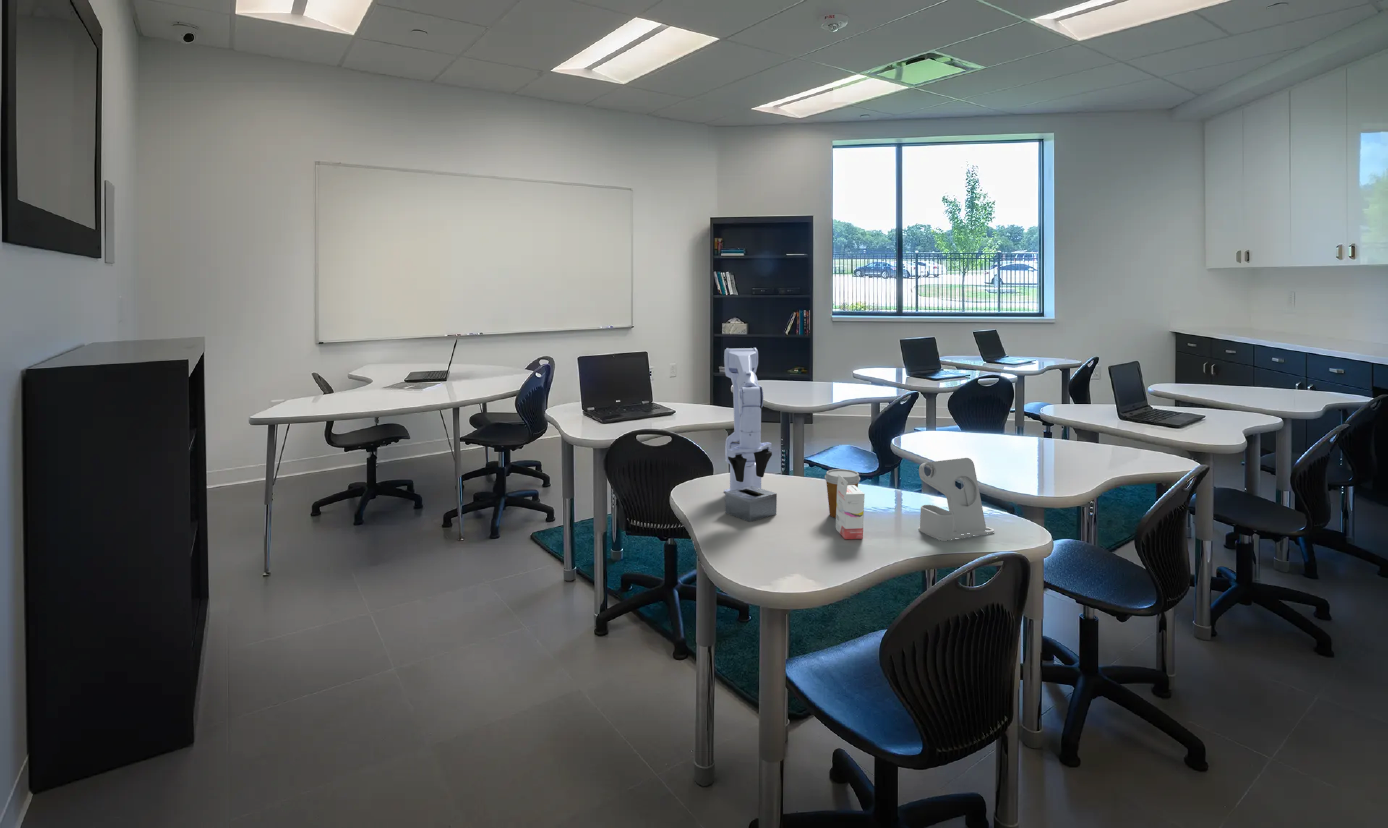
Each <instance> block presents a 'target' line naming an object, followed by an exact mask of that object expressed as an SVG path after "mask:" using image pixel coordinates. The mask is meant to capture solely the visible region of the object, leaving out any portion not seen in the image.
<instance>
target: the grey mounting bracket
mask: <svg viewBox="0 0 1388 828" xmlns="http://www.w3.org/2000/svg"><path fill="white" fill-rule="evenodd" d="M925 467H928V468H929V469H930V475H928V476H927V474H926V473H925ZM975 468H976V467H975V463H974V461H973V460H972V459H971V458H969V457H961V458H954V459H945V460H938V461H937V460H936V461H934V460H933V461H927V462H923V463H921V464H920V465H919V468H918V474H919V478H920V480H921V481H923V482H924V483H925V484H926V485H929V486H930V487H932V488H933V489H935V490H936V491H938V492H940V493H941V494H943V495H944V496H945V497H946V502H947V507H948V510H946V509H944V508H942V507H939V506H937V505H934V504H932V505H931V504H924V505H921V506H920V514H919V515H920V516H919V517H920V518H919V526H918V529H917V530H918V532H921V533H923V534H925V535H927V536H929V537H932V538H933V537H934V538H933V539H935V538H937V539H938V540H937V539H936V540H937V541H940V540H941V541H940V542H948V541H947V540H950V541H952V540H951V539H955V538H962V539H965V538H964V537H968V538H970V537H969V536H973V535H981V536H984V535H983V534H987V533H993V532H995V530H994V528H992V527H989V526H986V525H987V524H986V520H985V515H984V509H983V505H982V504H983V503H982V499H981V494H980V488H979V483H978V477H977V472H976V469H975ZM958 479H960V480H961V481H962V482H963V487H962V488H961V489H960V488H958V487H957V486H956V481H957V480H958ZM985 530H989V531H985ZM967 533H970V534H967ZM961 534H964V535H961ZM993 534H994V533H993ZM987 535H988V534H987Z"/></svg>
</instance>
